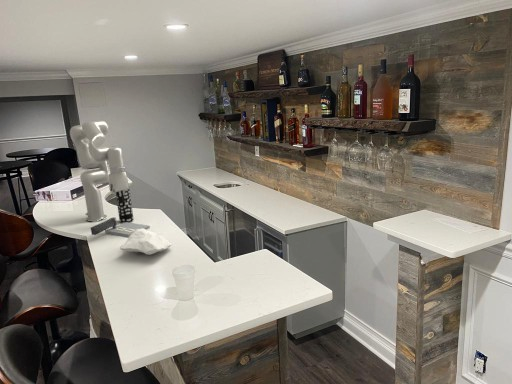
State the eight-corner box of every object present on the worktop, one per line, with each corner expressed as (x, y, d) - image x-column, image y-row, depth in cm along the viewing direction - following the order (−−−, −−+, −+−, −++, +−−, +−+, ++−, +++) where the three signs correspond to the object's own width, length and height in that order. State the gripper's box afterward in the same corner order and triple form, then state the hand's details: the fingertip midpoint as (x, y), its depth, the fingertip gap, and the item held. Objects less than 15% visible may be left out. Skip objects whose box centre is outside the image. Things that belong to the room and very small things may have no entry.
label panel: (105, 232, 222) (104, 227, 221) (126, 224, 235) (126, 219, 235) (128, 237, 213) (128, 231, 212) (149, 228, 226) (149, 222, 225)
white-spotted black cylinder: (135, 219, 246) (131, 188, 241) (130, 223, 238) (126, 191, 233) (123, 219, 247) (118, 188, 242) (117, 223, 239) (112, 191, 234)
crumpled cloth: (125, 266, 171) (126, 246, 170) (113, 242, 201) (114, 225, 200) (177, 261, 182) (178, 242, 181) (159, 239, 212) (159, 223, 211)
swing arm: (113, 223, 226) (112, 217, 225) (117, 224, 225) (117, 217, 224) (91, 234, 209) (90, 227, 208) (96, 235, 208) (94, 228, 207)
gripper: (123, 167, 220) (127, 199, 224) (101, 172, 208) (106, 205, 212) (132, 168, 217) (136, 200, 221) (110, 173, 204) (115, 206, 208)
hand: (121, 202), depth 216 cm, fingers closed
